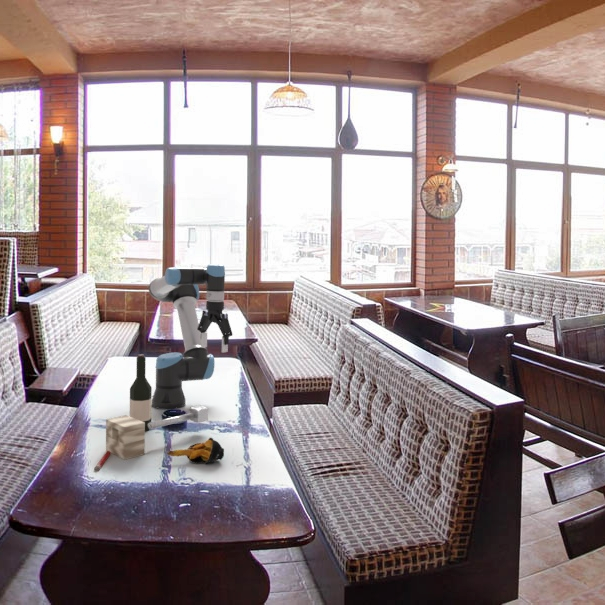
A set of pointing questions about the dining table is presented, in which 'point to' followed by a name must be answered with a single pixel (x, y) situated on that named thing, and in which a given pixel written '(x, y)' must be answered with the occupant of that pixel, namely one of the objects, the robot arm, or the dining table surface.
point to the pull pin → (183, 417)
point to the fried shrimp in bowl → (201, 452)
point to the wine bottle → (141, 395)
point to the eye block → (125, 437)
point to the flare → (102, 461)
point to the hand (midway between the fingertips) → (214, 349)
